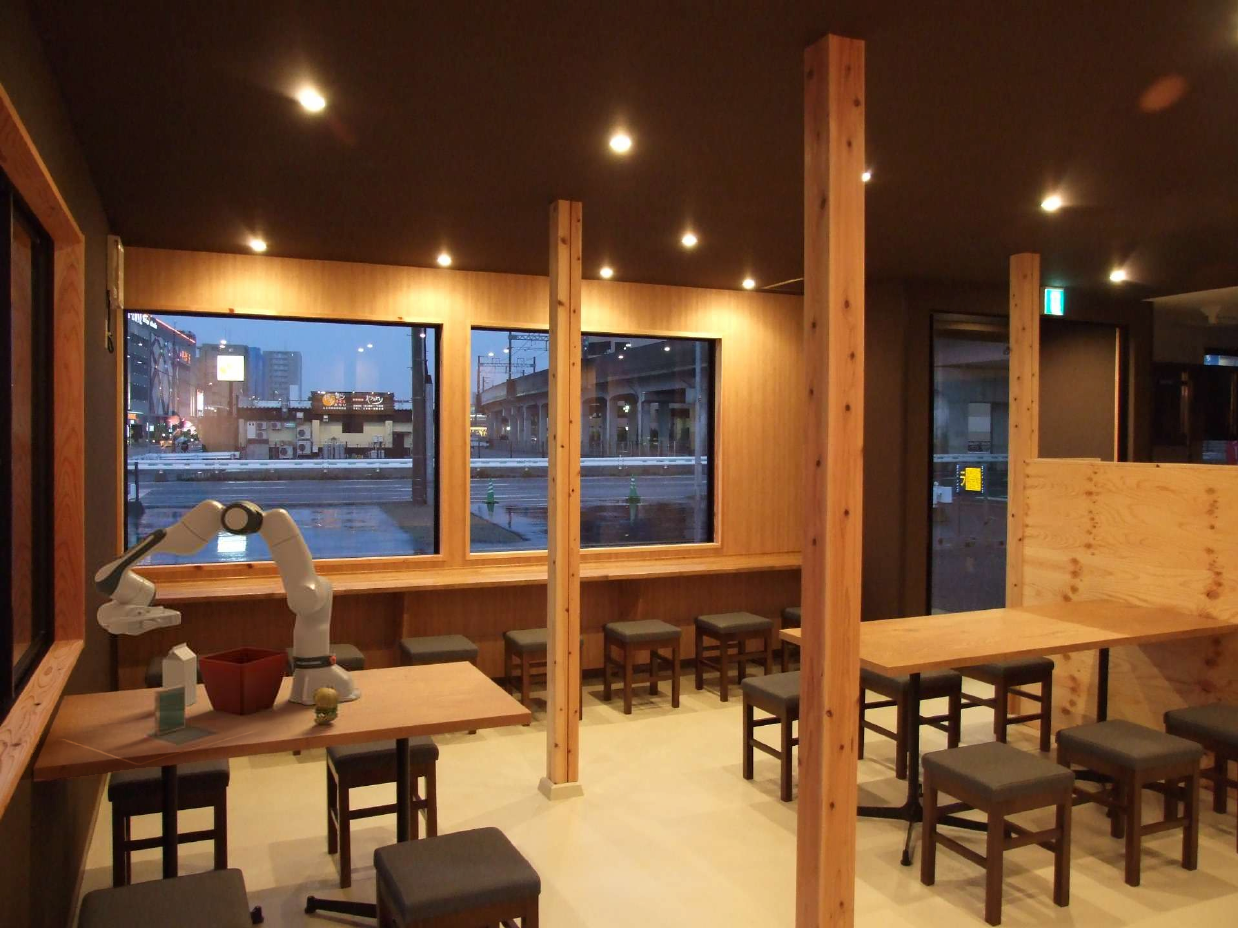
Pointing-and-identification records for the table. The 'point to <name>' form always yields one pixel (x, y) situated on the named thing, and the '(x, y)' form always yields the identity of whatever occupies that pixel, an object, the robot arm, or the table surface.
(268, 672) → the plant pot
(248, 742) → the table surface
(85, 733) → the table surface
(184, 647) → the milk carton
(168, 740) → the mat
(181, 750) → the table surface
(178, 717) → the picture frame
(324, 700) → the hamburger
